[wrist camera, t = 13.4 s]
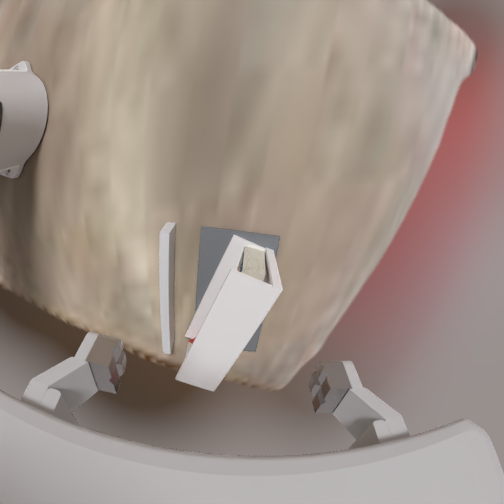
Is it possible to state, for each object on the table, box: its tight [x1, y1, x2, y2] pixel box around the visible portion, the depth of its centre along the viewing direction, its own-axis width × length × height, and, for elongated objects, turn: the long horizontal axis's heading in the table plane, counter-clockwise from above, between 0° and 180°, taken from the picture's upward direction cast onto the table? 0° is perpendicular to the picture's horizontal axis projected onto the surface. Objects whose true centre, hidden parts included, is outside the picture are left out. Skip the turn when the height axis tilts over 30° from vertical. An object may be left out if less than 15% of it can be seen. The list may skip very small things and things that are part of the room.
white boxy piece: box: [175, 235, 283, 392], centre depth 35 cm, size 20×6×9 cm, turn 154°
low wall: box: [159, 222, 176, 354], centre depth 37 cm, size 1×20×4 cm, turn 172°
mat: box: [196, 226, 280, 352], centre depth 40 cm, size 10×20×1 cm, turn 172°
